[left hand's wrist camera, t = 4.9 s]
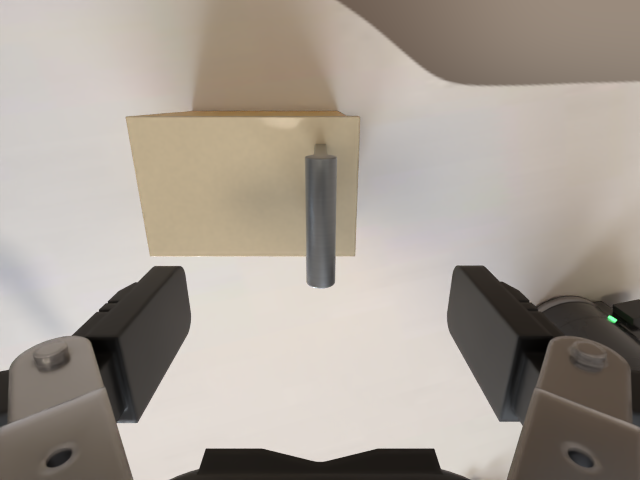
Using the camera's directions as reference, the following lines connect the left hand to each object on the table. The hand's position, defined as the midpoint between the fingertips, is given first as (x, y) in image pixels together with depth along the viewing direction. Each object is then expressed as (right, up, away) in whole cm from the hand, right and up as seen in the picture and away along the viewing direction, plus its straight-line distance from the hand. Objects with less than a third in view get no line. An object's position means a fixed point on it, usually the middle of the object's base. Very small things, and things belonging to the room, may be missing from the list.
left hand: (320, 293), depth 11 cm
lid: (-5, +5, +14) cm, 15 cm away
